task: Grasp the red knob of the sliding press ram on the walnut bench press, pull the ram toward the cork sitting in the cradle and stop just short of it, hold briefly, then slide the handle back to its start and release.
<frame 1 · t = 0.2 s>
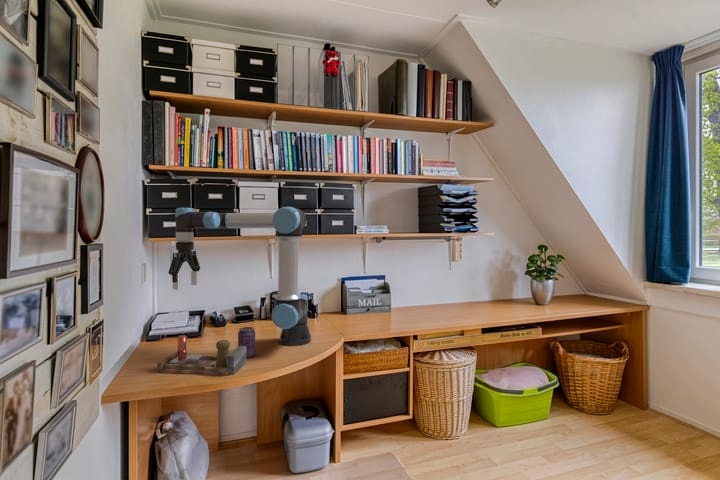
hand: (185, 287, 177), 28 cm above the table, fingers open, 13 cm apart
ram: (188, 349, 152), point 7 cm above the table, slide at 0.0 cm
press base: (203, 367, 151), on the table
cork: (223, 368, 151), resting in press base
beverage can: (246, 356, 164), on the table
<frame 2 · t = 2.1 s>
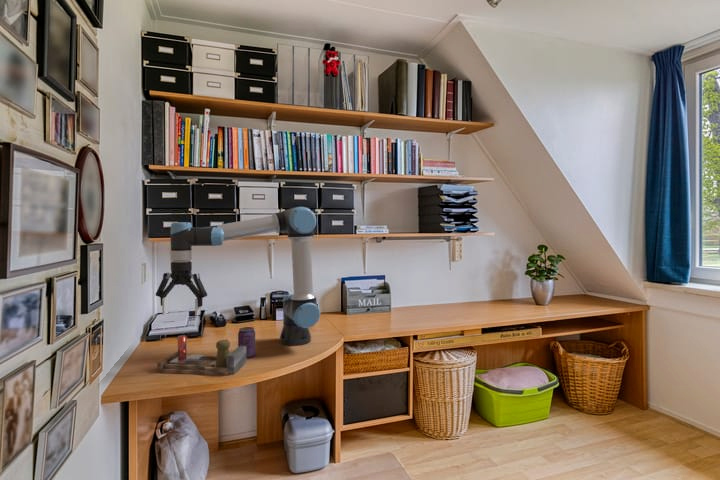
hand: (181, 314, 152), 21 cm above the table, fingers open, 13 cm apart
nothing on the table moved.
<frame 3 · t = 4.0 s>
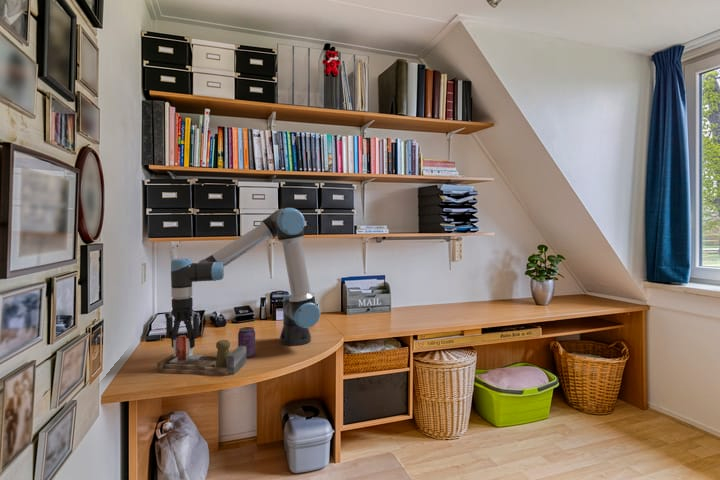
hand: (183, 355, 152), 4 cm above the table, fingers open, 5 cm apart
ram: (187, 349, 152), point 7 cm above the table, slide at -0.1 cm, touching gripper
everything else where it was.
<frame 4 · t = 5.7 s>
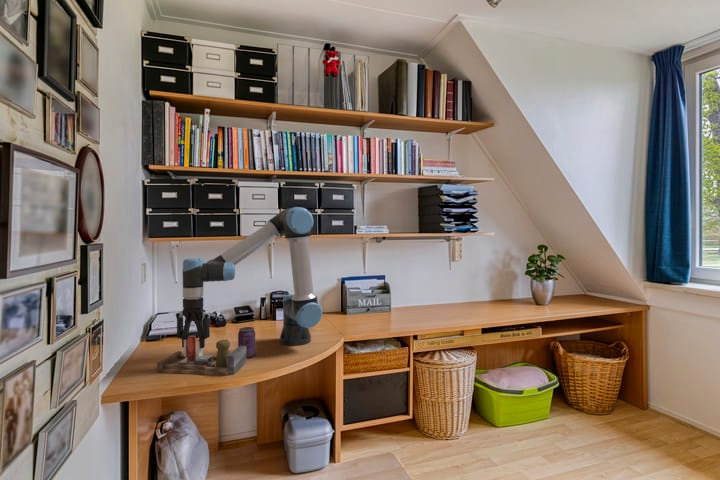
hand: (193, 355, 152), 5 cm above the table, fingers closed on ram, 5 cm apart
ram: (197, 350, 151), point 7 cm above the table, slide at 3.9 cm, touching gripper
everything else where it was.
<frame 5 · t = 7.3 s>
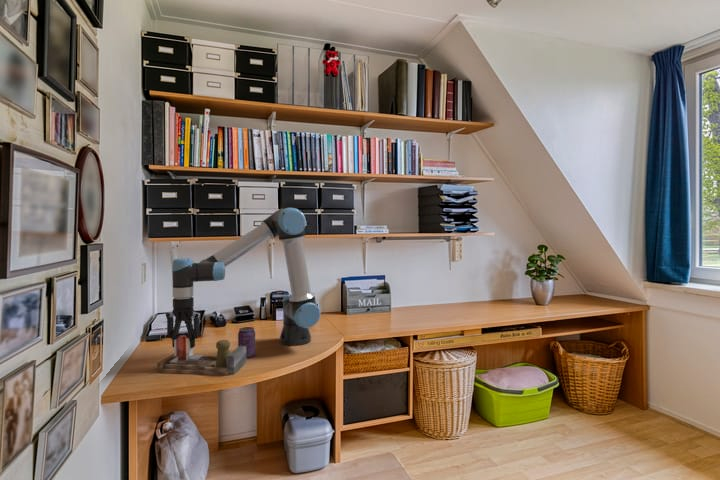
hand: (183, 355, 152), 4 cm above the table, fingers closed on ram, 5 cm apart
ram: (187, 349, 152), point 7 cm above the table, slide at -0.1 cm, touching gripper
everything else where it was.
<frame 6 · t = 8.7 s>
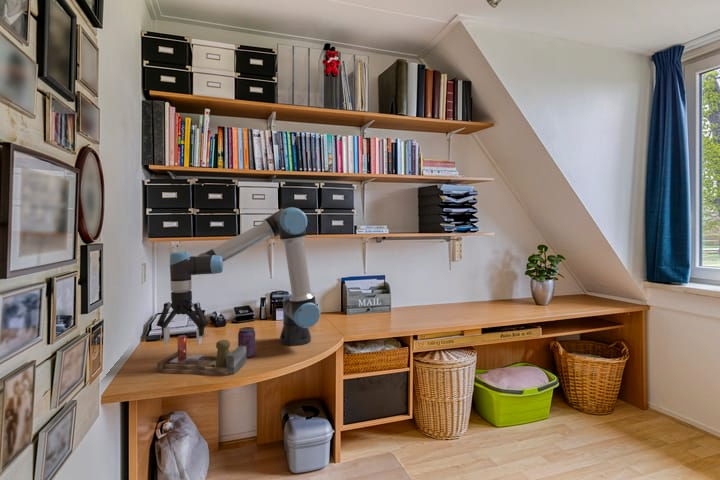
hand: (183, 343, 152), 9 cm above the table, fingers open, 13 cm apart
ram: (188, 349, 152), point 7 cm above the table, slide at 0.0 cm
everything else where it was.
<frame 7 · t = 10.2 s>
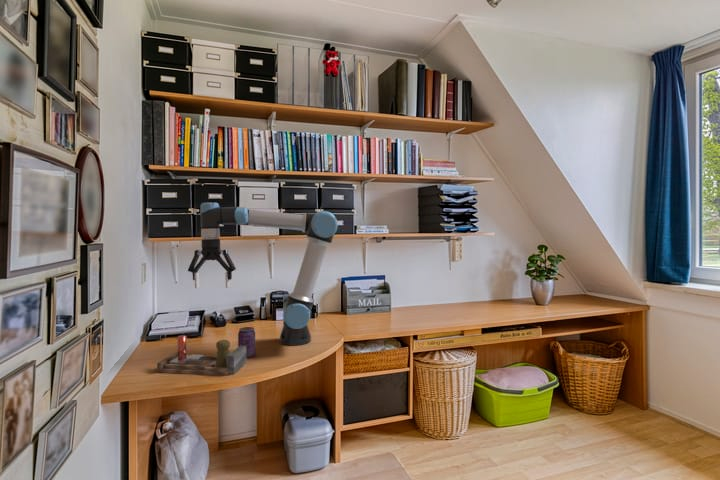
hand: (212, 287, 165), 29 cm above the table, fingers open, 13 cm apart
nothing on the table moved.
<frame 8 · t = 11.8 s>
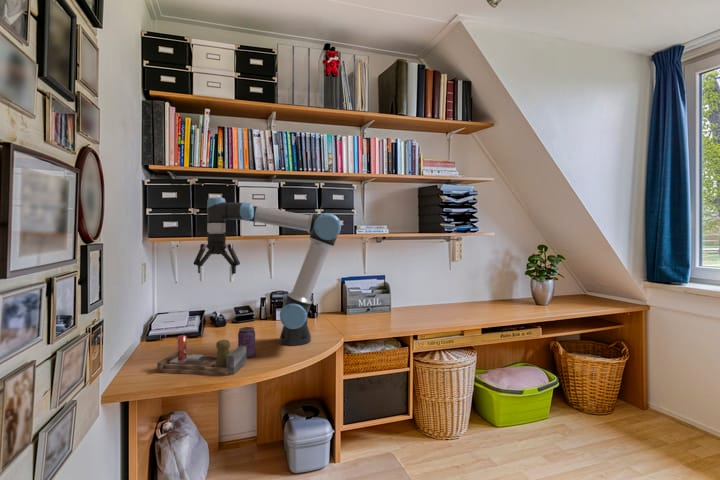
hand: (217, 281, 169), 32 cm above the table, fingers open, 13 cm apart
nothing on the table moved.
at the end: ram slide at 0.0 cm; cork moved 0.2 cm from its start; the gripper is holding nothing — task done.
